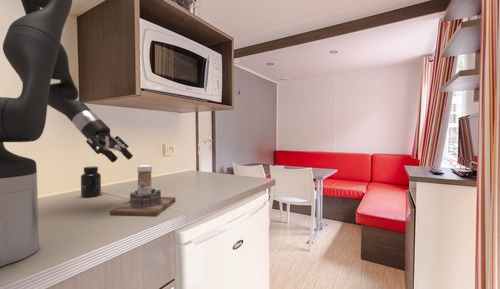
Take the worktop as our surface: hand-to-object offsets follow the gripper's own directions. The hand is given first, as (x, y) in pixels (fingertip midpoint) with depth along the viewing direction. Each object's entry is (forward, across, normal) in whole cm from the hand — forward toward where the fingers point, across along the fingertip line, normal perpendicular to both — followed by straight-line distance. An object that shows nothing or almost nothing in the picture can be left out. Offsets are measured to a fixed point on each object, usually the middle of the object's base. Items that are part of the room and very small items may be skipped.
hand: (123, 159), depth 78 cm
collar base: (+18, 0, +6) cm, 19 cm away
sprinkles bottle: (+16, 0, +6) cm, 17 cm away
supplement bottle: (-4, +13, +28) cm, 31 cm away
